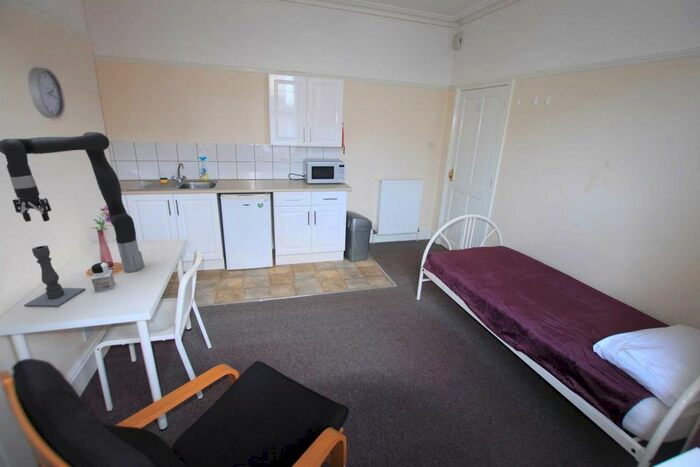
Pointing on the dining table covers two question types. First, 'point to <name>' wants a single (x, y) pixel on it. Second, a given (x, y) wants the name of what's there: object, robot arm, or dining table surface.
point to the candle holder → (48, 272)
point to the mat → (45, 302)
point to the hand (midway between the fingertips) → (37, 221)
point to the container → (102, 277)
